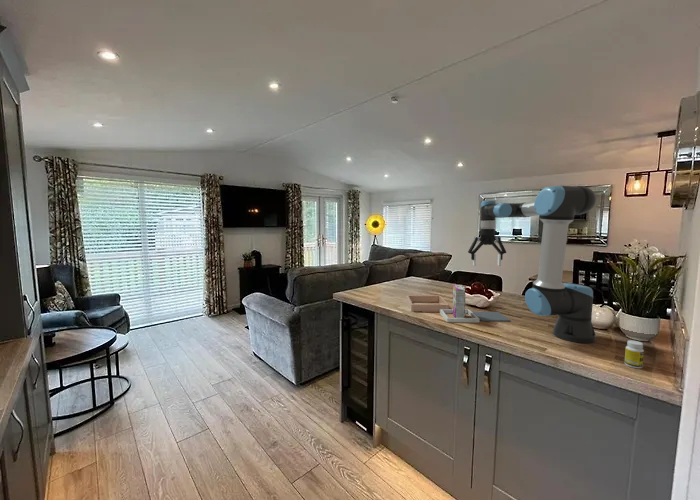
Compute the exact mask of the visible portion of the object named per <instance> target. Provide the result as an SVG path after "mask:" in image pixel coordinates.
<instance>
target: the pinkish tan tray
mask: <svg viewBox="0 0 700 500" xmlns="http://www.w3.org/2000/svg"><path fill="white" fill-rule="evenodd" d="M406 303H407V305H408V307H410V308H409V309H411V310H410V312H411V311H422V312H423V313H427V312H428V313H433V312H434V313H436V312H437V313H440V309H450V304H449V303H448V302H447V301H446V300H445V299H444V298H443V297H442V296H441V295H437V294H435V295H432V294H431V295H418V294H415V295H413V294H412V295H409V294H408V295H406ZM414 303H415V304H414ZM419 303H420V304H419ZM421 303H422V304H421ZM423 303H429V304H423ZM431 303H433V304H431ZM434 303H436V304H434ZM437 303H439V304H437ZM422 312H421V313H422Z"/></svg>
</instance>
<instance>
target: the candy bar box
mask: <svg viewBox="0 0 700 500" xmlns="http://www.w3.org/2000/svg"><path fill="white" fill-rule="evenodd" d="M452 290H453V291H452V309H453V313H452V315H453V318H466V314H465V309H466V289H465V287H464V286H463V285H462V284H453V285H452Z"/></svg>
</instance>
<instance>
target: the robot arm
mask: <svg viewBox="0 0 700 500" xmlns="http://www.w3.org/2000/svg"><path fill="white" fill-rule="evenodd" d="M596 204H597V196H596V193H595V192H594V190H592V189H591V188H590V187H587V186H584V185H552V186H551V185H550V186H546V187H543V188H542V189H541V190H540V192H538V193H537V195H536V197H535V199H534V200H531V201H526V202H518V203H517V202H516V203H515V202H513V203H511V202H500V203H497V202H496V201H495V200H482V201H481V202H480V234H479V237H477V236H474V238H473V242H472V243H471V246H470V247H469V249H468V251H467V253H468V254H470V255H471V257H470V258H471V261H472V266H474V267H476V266H477V265H476V264H477V263H476V262H477V261H476V260H477V254H476V253H477V252H478V251H479V250H480V248H482V246H483V245H484V246H489V245H490V246H492V247H493V249H495V250H496V252H498V254H497V266H498V267H501V265H502V260H503V256H504V254H507V250H506V248H505V246H504V244H503V242H502V238H501V237H500V236H495V235H496V230H495V227H496V218H501V219H502V218H531V217H535V216H539V220H540V221H541V222H542V223H543V225H542V234H541V245H540V253H539V263H538V271H537V278H536V280H534V281H532V287H531V288H529V289H527V290H526V291H525V293H524V294H525V295H524V299H525V300H524V301H525V304H526V306H527V308H528V309H529V311H530V312H531V313H532V314H534V315H536V316H541V317H542V316H544V317H549V316H558V317H557V318H556V321H555V324H554V326H553V328H552V334H553V336H555V337H556V338H559V339H561V340H563V341H564V340H565V341H568V342H574V343H578V344H579V343H580V344H590V343H595V342H596V339H597V335H596V331H595V329H594V328H595V327H594V325H593V323H592V319H593V318H592V317H593V304H594V290H593V289H592V288H591V287H589V286H586V285H582V284H576V283H570V282H562V281H563V275H564V274H563V273H564V265H565V257H566V247H567V241H568V240H567V239H568V234H569V233H568V231H569V225H570V224H571V223H573V222H574V220H575V216H576V215H577V216H579V215H583V214H586V213H589V212H590V211H591V210H593V208H594V207H595V206H596ZM479 241H480V242H479ZM495 241H496V242H497V243H498V245H499V246H498V245H497V244H496V243H495ZM478 242H479V243H478ZM477 243H478V245H477Z"/></svg>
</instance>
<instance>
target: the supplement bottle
mask: <svg viewBox="0 0 700 500" xmlns="http://www.w3.org/2000/svg"><path fill="white" fill-rule="evenodd" d="M624 350H625V351H624V353H625V354H624V365H626V366H627V367H630V368H634V369H638V370H639V369H643V368H644V367H643V366H644V356H645V350H644V343H643V342H641V341H637V340H629V339H628V340H627V344H626V346H625V349H624Z"/></svg>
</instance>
